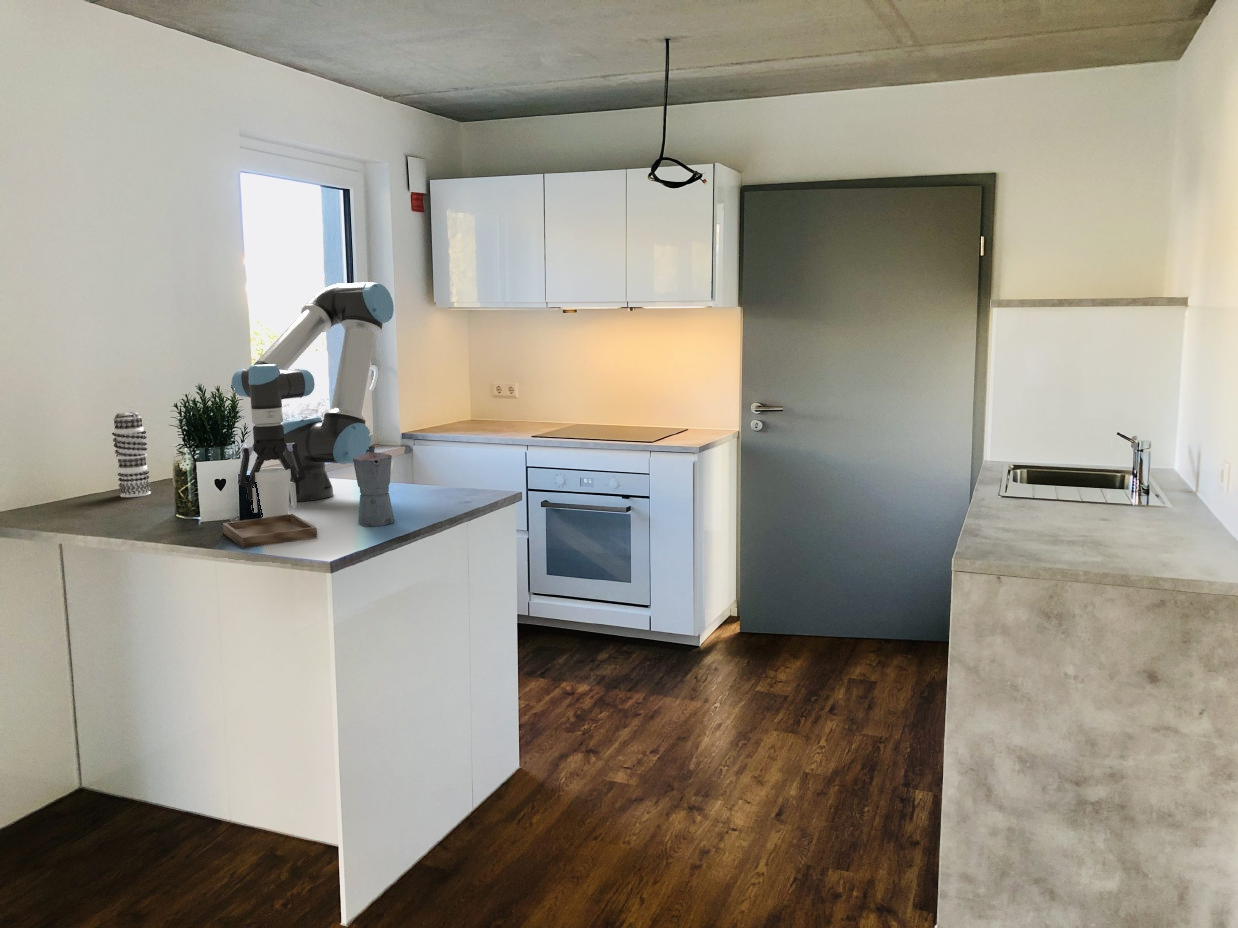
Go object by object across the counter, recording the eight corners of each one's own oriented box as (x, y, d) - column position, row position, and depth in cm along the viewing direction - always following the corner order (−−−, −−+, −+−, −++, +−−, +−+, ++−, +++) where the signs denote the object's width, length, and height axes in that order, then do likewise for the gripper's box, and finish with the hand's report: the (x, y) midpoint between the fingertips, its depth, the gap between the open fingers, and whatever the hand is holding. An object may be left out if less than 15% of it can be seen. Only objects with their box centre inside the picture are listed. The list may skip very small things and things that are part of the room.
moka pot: (363, 530, 236) (358, 450, 232) (349, 519, 249) (344, 443, 246) (401, 526, 240) (397, 447, 237) (386, 515, 253) (381, 440, 250)
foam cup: (281, 523, 246) (277, 473, 244) (249, 522, 248) (245, 472, 246) (300, 515, 255) (297, 467, 253) (269, 514, 257) (265, 466, 255)
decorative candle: (148, 496, 288) (140, 413, 284) (114, 498, 286) (106, 415, 282) (155, 491, 297) (147, 410, 293) (123, 492, 295) (114, 412, 291)
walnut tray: (293, 523, 246) (292, 513, 245) (317, 537, 229) (316, 527, 229) (223, 533, 236) (222, 523, 236) (243, 548, 220) (242, 537, 219)
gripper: (226, 429, 239) (234, 517, 242) (315, 422, 251) (321, 505, 254) (219, 426, 245) (227, 512, 248) (306, 419, 257) (312, 501, 261)
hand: (274, 509), depth 251 cm, fingers closed on foam cup, 9 cm apart
